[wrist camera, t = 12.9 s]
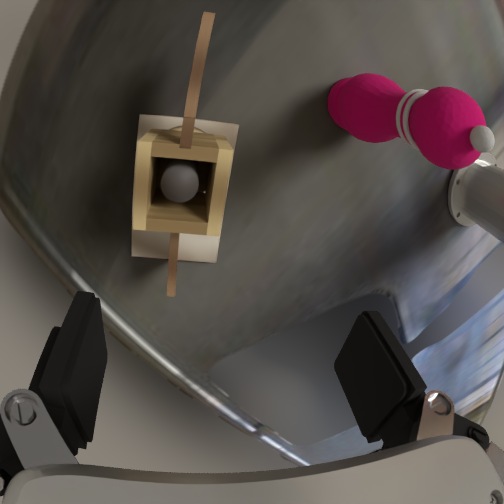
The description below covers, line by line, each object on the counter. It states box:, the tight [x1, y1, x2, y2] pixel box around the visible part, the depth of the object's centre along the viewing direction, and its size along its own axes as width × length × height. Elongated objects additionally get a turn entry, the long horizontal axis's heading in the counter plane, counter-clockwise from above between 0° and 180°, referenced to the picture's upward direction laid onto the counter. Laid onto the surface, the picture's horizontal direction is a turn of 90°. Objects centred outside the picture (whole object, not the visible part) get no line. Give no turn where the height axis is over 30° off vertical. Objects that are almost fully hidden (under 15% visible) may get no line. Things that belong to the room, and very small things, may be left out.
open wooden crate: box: [133, 12, 234, 237], centre depth 22 cm, size 16×7×7 cm, turn 170°
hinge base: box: [132, 114, 239, 296], centre depth 28 cm, size 16×10×10 cm, turn 169°
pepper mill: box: [327, 73, 494, 170], centre depth 22 cm, size 7×7×20 cm
